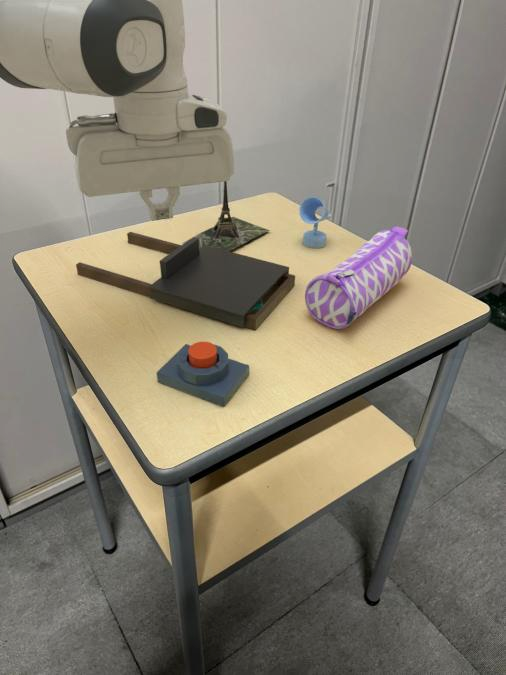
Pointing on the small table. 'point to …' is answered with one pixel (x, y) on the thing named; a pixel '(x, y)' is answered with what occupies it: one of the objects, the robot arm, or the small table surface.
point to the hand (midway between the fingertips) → (161, 218)
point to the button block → (204, 376)
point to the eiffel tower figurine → (229, 230)
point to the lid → (214, 281)
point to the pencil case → (359, 279)
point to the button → (202, 355)
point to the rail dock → (168, 247)
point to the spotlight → (313, 222)
